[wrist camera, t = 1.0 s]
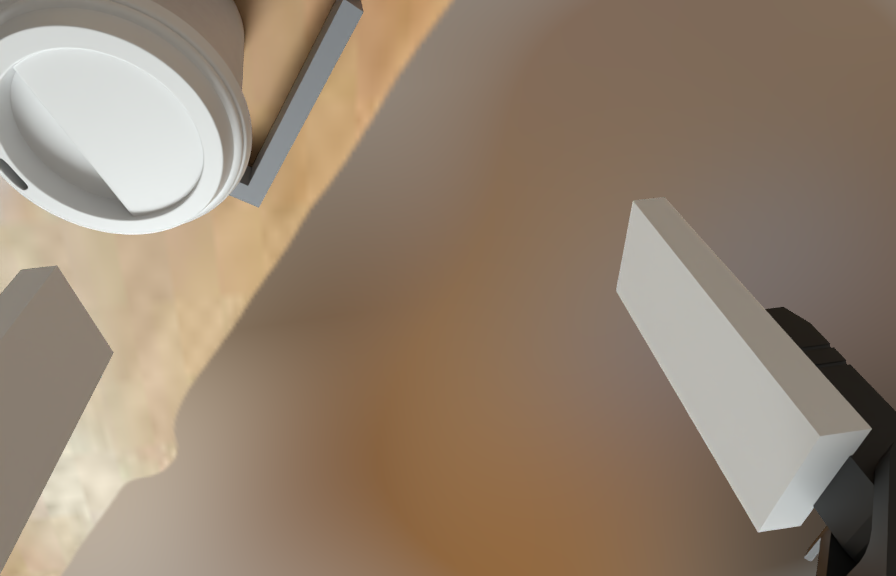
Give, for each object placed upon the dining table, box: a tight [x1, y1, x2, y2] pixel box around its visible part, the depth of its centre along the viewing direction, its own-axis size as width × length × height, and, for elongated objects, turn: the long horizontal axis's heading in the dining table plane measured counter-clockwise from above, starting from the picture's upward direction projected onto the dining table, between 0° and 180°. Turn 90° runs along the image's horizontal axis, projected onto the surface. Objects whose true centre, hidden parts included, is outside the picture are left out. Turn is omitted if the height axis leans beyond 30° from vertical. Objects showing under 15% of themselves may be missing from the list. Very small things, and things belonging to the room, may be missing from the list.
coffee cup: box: [0, 0, 252, 234], centre depth 24 cm, size 10×10×15 cm
